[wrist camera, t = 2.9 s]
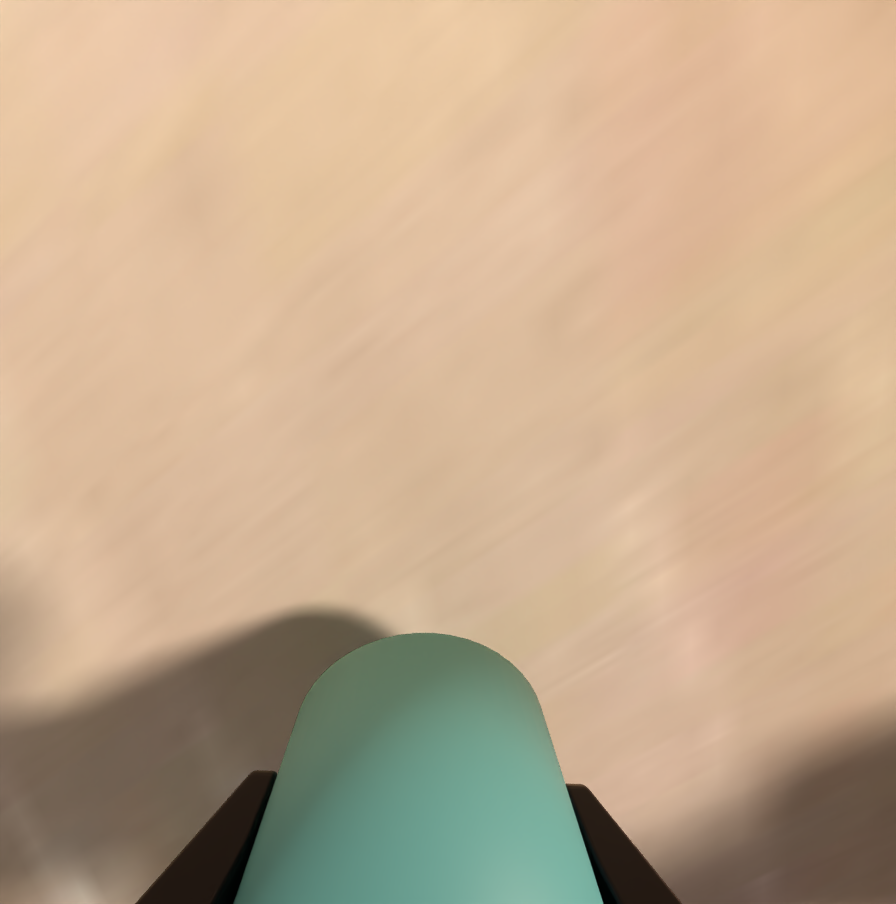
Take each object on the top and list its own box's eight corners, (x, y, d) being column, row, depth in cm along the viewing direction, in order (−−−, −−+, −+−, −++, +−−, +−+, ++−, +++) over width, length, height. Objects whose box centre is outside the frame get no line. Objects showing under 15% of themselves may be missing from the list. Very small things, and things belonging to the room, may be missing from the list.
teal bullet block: (563, 641, 9) (705, 949, 4) (524, 841, 10) (605, 1244, 5) (298, 623, 8) (155, 942, 4) (290, 834, 9) (174, 1261, 5)
